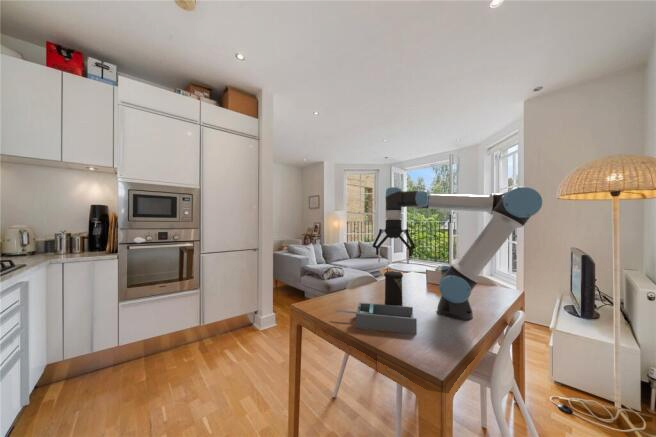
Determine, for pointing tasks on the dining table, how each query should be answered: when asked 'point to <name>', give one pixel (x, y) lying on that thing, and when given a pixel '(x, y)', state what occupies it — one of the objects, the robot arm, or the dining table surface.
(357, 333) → the dining table surface
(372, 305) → the pusher
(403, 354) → the dining table surface
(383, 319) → the grey shallow rectangular box
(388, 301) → the container
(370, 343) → the dining table surface
